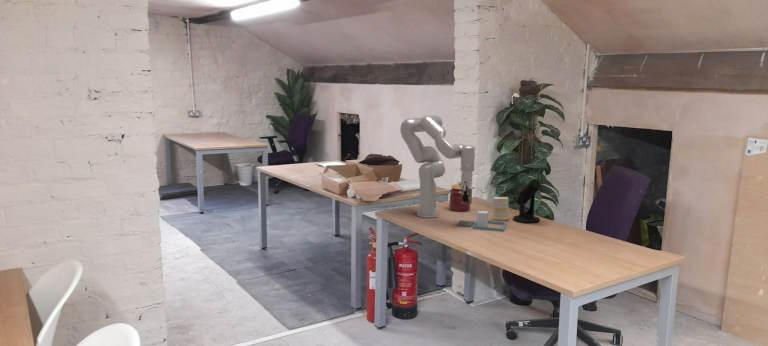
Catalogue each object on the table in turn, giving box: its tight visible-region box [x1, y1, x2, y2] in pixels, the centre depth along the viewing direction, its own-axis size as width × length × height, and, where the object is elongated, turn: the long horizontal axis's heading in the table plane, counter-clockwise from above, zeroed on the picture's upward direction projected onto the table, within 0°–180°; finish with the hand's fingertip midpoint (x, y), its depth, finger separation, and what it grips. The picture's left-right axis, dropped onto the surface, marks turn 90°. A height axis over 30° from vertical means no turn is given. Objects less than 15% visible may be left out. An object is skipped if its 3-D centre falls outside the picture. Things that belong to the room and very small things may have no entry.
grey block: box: [476, 210, 489, 227], centre depth 307 cm, size 5×5×8 cm
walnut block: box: [461, 187, 473, 205], centre depth 308 cm, size 5×5×8 cm
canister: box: [449, 181, 471, 213], centre depth 344 cm, size 13×13×18 cm
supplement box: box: [492, 196, 510, 221], centre depth 321 cm, size 8×5×13 cm, turn 84°
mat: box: [456, 219, 475, 228], centre depth 311 cm, size 8×10×1 cm
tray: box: [471, 219, 507, 233], centre depth 306 cm, size 17×15×2 cm
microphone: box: [512, 179, 542, 225], centre depth 318 cm, size 15×17×25 cm
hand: (466, 200), depth 308 cm, fingers closed on walnut block, 5 cm apart
